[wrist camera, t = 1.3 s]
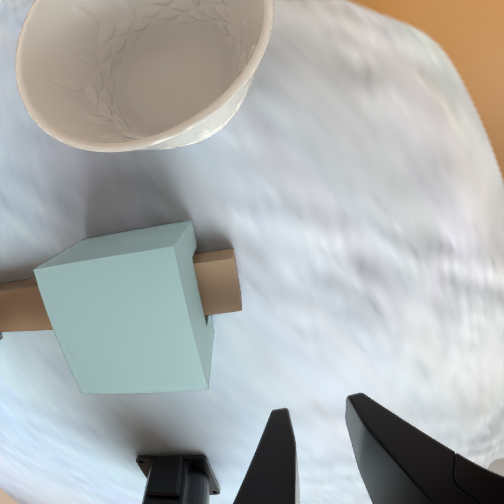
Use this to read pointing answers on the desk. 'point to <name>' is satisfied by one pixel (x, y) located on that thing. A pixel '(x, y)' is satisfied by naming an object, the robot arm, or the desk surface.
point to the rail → (207, 274)
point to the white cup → (139, 69)
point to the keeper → (130, 311)
